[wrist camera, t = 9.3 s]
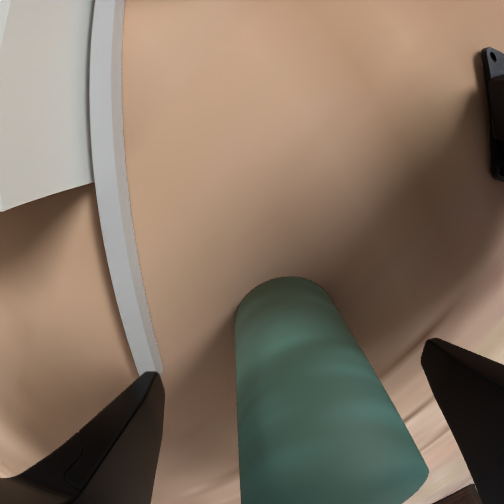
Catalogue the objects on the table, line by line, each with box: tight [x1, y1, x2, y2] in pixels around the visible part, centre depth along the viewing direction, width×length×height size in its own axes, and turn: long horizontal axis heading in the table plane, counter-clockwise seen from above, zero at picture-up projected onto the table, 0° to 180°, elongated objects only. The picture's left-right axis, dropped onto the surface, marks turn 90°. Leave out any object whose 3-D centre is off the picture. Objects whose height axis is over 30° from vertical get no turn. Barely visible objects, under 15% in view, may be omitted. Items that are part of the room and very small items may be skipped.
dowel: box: [235, 277, 429, 504], centre depth 8 cm, size 4×4×8 cm
